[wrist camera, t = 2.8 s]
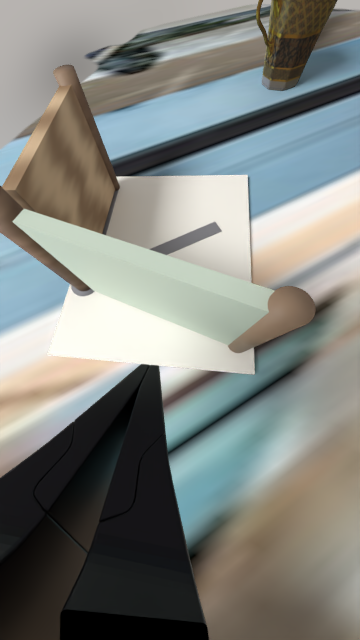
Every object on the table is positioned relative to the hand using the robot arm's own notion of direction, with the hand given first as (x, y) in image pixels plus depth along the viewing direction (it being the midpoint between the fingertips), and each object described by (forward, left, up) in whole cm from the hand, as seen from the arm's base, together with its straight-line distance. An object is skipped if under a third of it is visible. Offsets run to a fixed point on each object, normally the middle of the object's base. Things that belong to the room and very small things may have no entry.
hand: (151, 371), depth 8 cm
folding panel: (+5, -3, -9) cm, 11 cm away
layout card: (+12, -8, -10) cm, 18 cm away
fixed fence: (+21, -4, -9) cm, 23 cm away
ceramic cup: (+29, -48, -10) cm, 57 cm away
